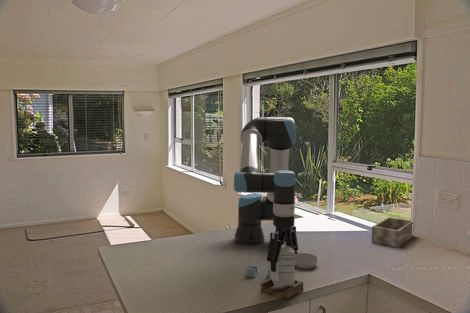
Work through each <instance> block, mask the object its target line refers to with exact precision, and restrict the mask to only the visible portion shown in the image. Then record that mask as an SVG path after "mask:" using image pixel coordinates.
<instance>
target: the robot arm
mask: <svg viewBox="0 0 470 313" xmlns="http://www.w3.org/2000/svg"><path fill="white" fill-rule="evenodd" d="M296 132H297V131H296V124H295V120H294V118H292V117H285V116H283V117H282V116H280V117H279V116H270V117H269V116H266V117H265V116H259V117H256V118H253V119H252V120H249V122H247V124H245V125H244V126H243V127H242V130H241V133H240V137H239V138H240V143H241V144H242V145H241V154H240V166H239V167H240V169H239V172H237V171H236V172H235V173H234V175H233V190H234V192H237V193H245V194H244V195H241V196H240V197H239V198H238V203H237V204H238V205H237V208H238V210H237V211H238V212H237V213H238V214H237V228H236V230H235V232H234V233H235V234H234V241H235V240H236V241H237V242H240V243H244V244H243V245H247V244H250V246H253V245H260V244H262V243H265V241H266V240H265V238H266V237H265V233H264V231H263V227H262V226H263V225H262V221H272V225H273V226H274V227H275V231H274V232H270V234H269V244H268V249H267V256H266V261H267V262H269V263H270V269H271V280H275V281H278V273H279V262H277V261H278V257H279V254H280V250H281V247H282V245H284V244H285V245H288V246H291V247H292V248H293V250H294V251H295V254H297V253H298V251H299V245H298V238H297V226H295V210H296V207H295V205H296V204H295V203H296V202H295V199H296V197H295V196H296V183H297V179H296V173H295V172H294V171H293V170H289V162H290V161H289V160H290V159H289V158H290V150H291V149H292V148H293V147H294V145H293V144H296V143H297V134H296ZM261 143H264V144H265V143H266V144H267V148H269V149H270V158H269V159H270V161H269V162H270V164H269V172H260V151H261V150H260V149H261V147H260V145H262V144H261ZM246 193H247V194H246ZM248 193H249V194H248ZM261 193H263V194H265V193H266V196H263V195H262V194H261ZM236 241H235V242H236ZM237 242H236V243H237ZM240 243H239V244H240ZM251 244H252V245H251Z"/></svg>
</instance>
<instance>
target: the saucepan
mask: <svg viewBox="0 0 470 313" xmlns="http://www.w3.org/2000/svg"><path fill="white" fill-rule="evenodd" d="M317 263H318V256H317V255H315V254H312V253H308V252H307V253H306V252H299V253H297V254H295V267H296V268H300V269H306V270H307V269H313V268H314V267H316V265H317Z"/></svg>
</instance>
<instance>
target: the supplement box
mask: <svg viewBox="0 0 470 313" xmlns="http://www.w3.org/2000/svg"><path fill="white" fill-rule="evenodd" d="M277 262H279V273H278V281H275V280H272V281H273V283H274V286H294V279H295V271H296V270H295V269H296V268H295V267H296V266H295V251H294V250H293V248H292V247H291V246H288V245H286V244H285V245H284V244H283V245H282V247H281V250H280V254H279V257H278V261H277Z"/></svg>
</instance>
